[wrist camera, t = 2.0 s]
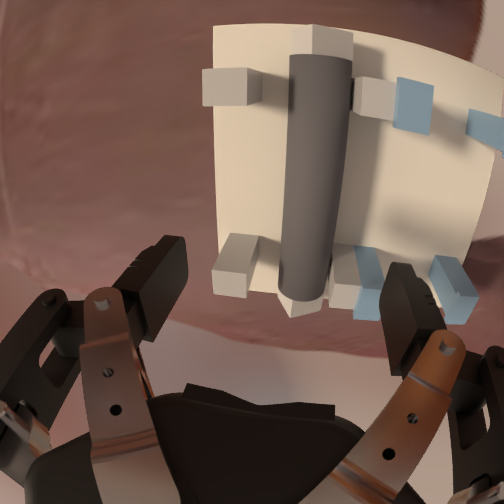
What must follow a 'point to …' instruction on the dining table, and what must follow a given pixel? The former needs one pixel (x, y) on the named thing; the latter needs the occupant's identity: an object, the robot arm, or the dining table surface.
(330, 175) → the dark grey dowel
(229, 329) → the dining table surface
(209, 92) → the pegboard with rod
